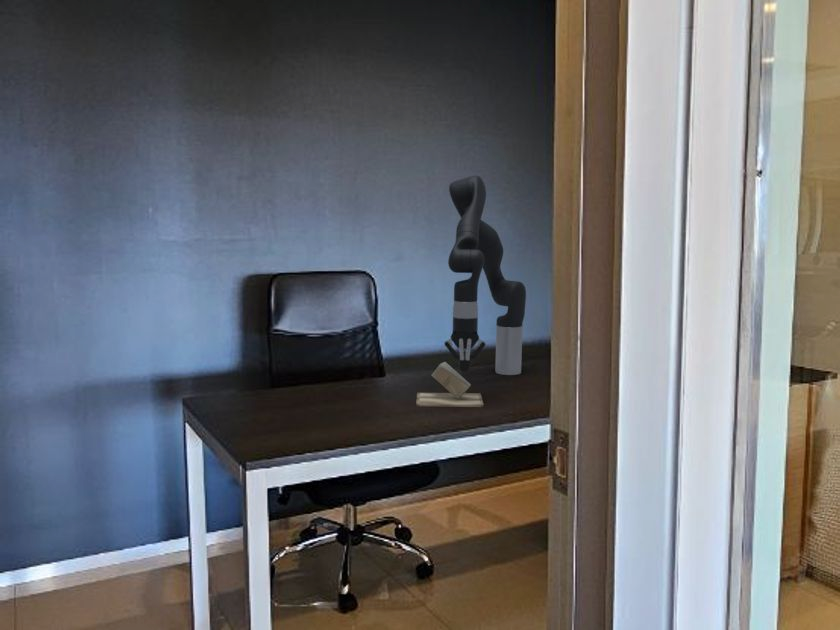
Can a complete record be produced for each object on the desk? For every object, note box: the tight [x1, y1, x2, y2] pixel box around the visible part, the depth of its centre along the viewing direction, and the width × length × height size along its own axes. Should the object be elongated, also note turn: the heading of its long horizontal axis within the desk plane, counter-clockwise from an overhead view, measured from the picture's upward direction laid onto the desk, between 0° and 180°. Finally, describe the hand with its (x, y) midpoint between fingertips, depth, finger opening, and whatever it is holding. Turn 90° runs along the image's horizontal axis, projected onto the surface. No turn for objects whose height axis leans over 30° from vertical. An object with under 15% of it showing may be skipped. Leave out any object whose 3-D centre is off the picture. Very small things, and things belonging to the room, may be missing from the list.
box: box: [431, 361, 472, 399], centre depth 227 cm, size 5×4×11 cm
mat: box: [415, 392, 484, 408], centre depth 226 cm, size 14×20×1 cm
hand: (464, 371), depth 224 cm, fingers closed
